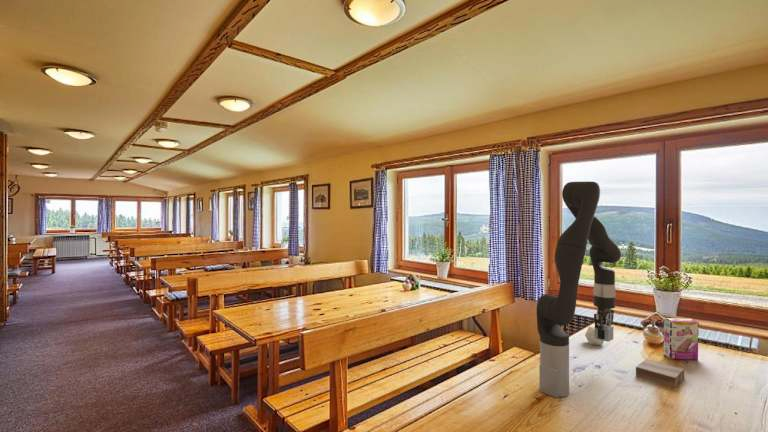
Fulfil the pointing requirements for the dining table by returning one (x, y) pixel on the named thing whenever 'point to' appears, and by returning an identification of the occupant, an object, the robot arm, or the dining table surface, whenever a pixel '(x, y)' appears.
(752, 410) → the dining table surface
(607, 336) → the slate cube
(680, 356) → the candy bar box
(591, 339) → the die
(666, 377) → the walnut block
